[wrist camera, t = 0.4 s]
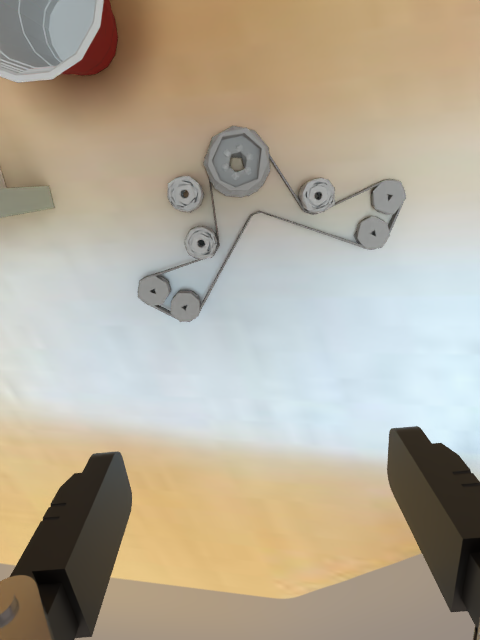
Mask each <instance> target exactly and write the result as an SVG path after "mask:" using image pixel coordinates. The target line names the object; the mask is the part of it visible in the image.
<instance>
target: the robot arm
mask: <svg viewBox="0 0 480 640" xmlns="http://www.w3.org/2000/svg"><path fill="white" fill-rule="evenodd" d="M387 473H388V480H389V484H390V487H391V490H392V492H393V495H394V497H395V499H396V501H397V503H398V505H399V507H400V509H401V511H402V513H403V515H404V517H405V519H406V521H407V523H408V525H409V527H410V529H411V531H412V533H413V536H414V538H415V540H416V542H417V544H418V546H419V548H420V550H421V552H422V554H423V556H424V558H425V560H426V562H427V564H428V566H429V568H430V570H431V572H432V574H433V576H434V579H435V581H436V583H437V584H438V587H439V589H440V591H441V593H442V595H443V597H444V599H445V601H446V603H447V605H448V607H449V609H450V611H451V612H460V611H468V612H469V614H470V616H471V618H472V620H473V622H474V624H475V629H474V634H473V640H480V482H479V480H478V479H477V478H476V477H475V475H474V474H473V473H471V471H470V469H469V468H468V466H467V465H466V464H465V463H464V461H463V460H462V459H461V458H460V456H459V455H458V454H456V453H455V452H453V451H452V450H450V449H449V448H448V447H446V446H445V445H443V444H442V443H435V444H432V443H431V442H430V441H429V439H428V438H427V436H426V435H425V434H424V432H423V431H422V430H421V428H420V427H418V426H415V427H403V428H392V429H391V430H390V433H389V447H388V465H387ZM131 506H132V492H131V487H130V484H129V480H128V476H127V473H126V469H125V465H124V461H123V458H122V455H121V453H120V452H107V453H96V454H93V455H92V456H91V457H90V459H89V461H88V463H87V464H86V466H85V468H84V470H83V472H82V473H75V474H73V475H72V476H71V477H70V478H69V479H68V480H67V481H66V482H65V483H64V484H63V485H62V486H61V487H60V488H59V490H58V492H57V494H56V495H55V497H54V499H53V501H52V503H51V507H49V508H48V510H47V512H46V513H45V515H44V517H43V521H41V522H40V524H39V526H38V528H37V529H36V531H35V533H34V535H33V536H32V538H31V540H30V542H29V544H28V545H27V547H26V549H25V551H24V553H23V554H22V556H21V558H20V560H19V561H18V563H17V565H16V567H15V569H14V570H13V572H12V574H11V576H10V577H9V578H7V579H4V580H2V581H0V640H74V639H75V638H81V637H92V634H93V631H94V627H95V624H96V621H97V618H98V615H99V612H100V608H101V605H102V602H103V599H104V595H105V592H106V589H107V586H108V583H109V580H110V576H111V573H112V570H113V567H114V564H115V560H116V557H117V554H118V551H119V548H120V544H121V541H122V538H123V535H124V532H125V528H126V525H127V522H128V519H129V515H130V512H131Z"/></svg>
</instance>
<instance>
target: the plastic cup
mask: <svg viewBox="0 0 480 640" xmlns="http://www.w3.org/2000/svg"><path fill="white" fill-rule="evenodd" d="M117 40H118V35H117V29H116V23H115V18H114V16H113V13H112V10H111V4H110V1H109V0H0V77H3V78H6V79H9V80H11V81H14V82H17V83H18V82H29V81H39V80H50V79H53V78H55V77H56V76H58V75H59V74H68V75H69V74H76V75H81V76H82V75H92V74H96V73H99V72H100V71H102V70H103V69H105V68H106V67H108V65H109V64H110V62H111V61H112V59H113V57H114V56H115V52H116V46H117Z"/></svg>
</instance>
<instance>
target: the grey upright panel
mask: <svg viewBox="0 0 480 640" xmlns="http://www.w3.org/2000/svg"><path fill="white" fill-rule="evenodd" d="M52 208H55V207H54V204H53V200H52V196H51V192H50V188H49V186H37V187H18V188H6V185H5V182H4V178H3V175H2V171H1V168H0V218H1V217H7V216H12V215H18V214H24V213H29V212H35V211H41V210H46V209H52Z"/></svg>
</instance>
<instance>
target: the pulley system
mask: <svg viewBox="0 0 480 640" xmlns="http://www.w3.org/2000/svg"><path fill="white" fill-rule="evenodd" d="M230 157H233V158H242V160H243V165H244V168H245V169H243V170H241V171H237V172H235V171H234V170H232V169H231V167H230ZM269 158H270V160H271V161H272V163H273V164H274V166H275V168H276V169H277V171H278V172H279V174H280V176H281V177H282V179H283V180H284V182H285V183H286V185H287V187H288V188H289V190H290V191H291V193H292V194H293V196H294V198H295V199H296V201H297V202H298V204H299V206H300V207H301V209H302V210H303V211H304V212H307V213H310V214H317V213H321V212H324V211H325V210H327V209H328V208H330V207H332V206H334V205H337V204H339V203H341V202H343V201H345V200H347V199H349V198H352V197H354V196H356V195H358V194H360V193H362V192H365V191H367V190H369V189H371V188H373V187H375V186H376V188H375V190H374V191H373V192H372V194H371V197H372V199H371V204H372V206H374V207H375V209H376V210H377V212H382V213H385V214H394V215H393V217H392V219H391V221H390V223H389V225H388V224H387V223H386V222H385V221H383V220H381V219H380V218H378V217H375V216H372V217H370V218H365V219H364V220H362V221H361V222H360V223H359V224H358V225H357V231H356V232H355V234H354V237H355V240H356V242H357V243H358V244H357V243H354V242H351V241H348V240H345V239H342V238H339V237H336V236H333V235H330V234H327V233H324V232H321V231H318V230H315V229H312V228H309V227H306V226H303V225H300V224H297V223H294V222H291V221H288V220H285V219H282V218H279V217H276V216H273V215H270V214H267V213H264V212H261V211H258V212H256V213H254V214H257V213H264V214H267V215H270V216H273V217H276V218H279V219H282V220H284V221H287V222H290V223H293V224H296V225H299V226H302V227H305V228H308V229H310V230H313V231H316V232H319V233H322V234H325V235H328V236H331V237H334V238H336V239H339V240H342V241H345V242H348V243H351V244H354V245H357V246H359V247H362V248H365V249H369V250H373V249H377V248H381V247H383V245H384V244H385V242H386V241H387V239H388V237H389V236H390V232H391V230H392V228H393V225H394V223H395V221H396V218H397V216H398V214H399V212H400V209H401V207H402V205H403V202H404V200H405V199H406V195H405V190H404V187H403V185H402V183H401V181H397V180H393V179H387V180H383V181H380V182H378V183H376V184H374V185H372V186H370V187H368V188H366V189H364V190H362V191H360V192H358V193H355V194H353V195H351V196H349V197H347V198H345V199H343V200H340V201H338V202H336V203H335V188H334V187H333V185H332V184H331V182H330V181H329V180H328V179H324V178H317V179H313V180H310V181H308V182H306V183H305V184H304V185H303V186H301V189H300V191H299V195H298V198H297V197H296V195H295V193H294V192H293V190H292V189H291V187H290V186H289V184H288V182H287V181H286V179H285V178H284V176H283V175H282V173H281V172H280V170H279V168H278V167H277V165H276V164H275V162H274V161H273V159H272V157H271V156H270V154H269V148H268V146H267V145H266V144H265V143H264V141H263V140H262V139H261V138H260V137H259V135H258V134H257V133H256V132H255V131H254V130H250V129H247V128H242V127H237V126H231V127H230V128H228V129H226V130H224V131H223V132H221V133H219V134H217V135H215V136H214V137H212V140H211V143H210V146H209V149H208V152H207V154H206V156H205V161H204V166H205V168H206V171H207V173H208V175H209V182H210V189H211V197H212V204H213V211H214V218H215V225H216V232H217V237H216V233H215V232H214V231H213V230H212V228H210V227H207V226H197V227H195V228H193V229H191V230H190V231H189V233H188V234H187V236H186V239H185V246H186V249H187V252H188V254H189V255H190V256H192V257H194V258H197V259H198V260H195V261H192V262H189V263H186V264H183V265H180V266H177V267H174V268H171V269H168V270H165V271H162V272H159V273H156V274H153V275H150V276H147V277H145V278H143V279H141V280H140V281H139V287H138V298H140V299H141V300H142V301H143V302H144V303H146V304H147V305H149V306H151V307H154V308H156V309H158V310H160V311H162V312H164V313H166V314H168V315H170V316H172V317H174V318H176V319H178V320H179V321H180V322H190V321H192V320H193V319H195V318H196V317H197V316H198V315H199V313H200V311H201V309H202V307H203V305H204V303H205V301H206V300H207V298H208V296H209V294H210V292H211V290H212V288H213V286H214V284H215V283H216V281H217V279H218V277H219V275H220V273H221V271H222V269H223V268H224V266H225V264H226V262H227V260H228V258H229V257H230V255H231V253H232V251H233V249H234V247H235V245H236V244H237V242H238V240H239V238H240V236H241V234H242V233H243V231H244V229H245V227H246V225H247V223H248V222H249V220H250V218H251V216H252V215H254V214H251V215H250V216H249V218H248V220H247V222H246V223H245V225H244V227H243V229H242V231H241V233H240V234H239V236H238V238H237V240H236V242H235V244H234V245H233V247H232V249H231V251H230V253H229V255H228V256H227V258H226V260H225V262H224V264H223V266H222V267H221V269H220V271H219V273H218V275H217V277H216V278H215V280H214V282H213V284H212V286H211V288H210V290H209V291H208V293H207V295H206V297H205V299H204V301H203V302H202V304H201V305H200V299H199V296H198V295H196V294H195V293H194V292H193V291H179V292H178V293H177V294H176V295H175V296H174V297H173V300H172V301H171V311H170V310H168V309H165V308H163V307H161V306H159V305H162V304H163V303H164V301H165V300H166V298H167V296H168V295H169V294H170V292H171V290H170V286H169V282H168V280H166V279H165V278H163V277H161V276H159V275H160V274H163V273H166V272H169V271H172V270H175V269H177V268H180V267H183V266H186V265H189V264H192V263H194V262H197V261H200V260H203V259H206V258H212V256H214V254H215V253H216V251H217V249H218V247H219V246H220V244H219V237H218V230H217V223H216V216H215V208H214V201H213V194H212V188H211V183H212V184H213V186H214V188H215V189H217V190H218V191H220V192H221V193H223V194H224V195H226V196H233V197H244V196H250V195H251V194H252V193H254V192H256V191H258V189H259V188H260V187H262V186H263V184H264V182H265V180H266V178H267V176H268V174H269V172H270V163H269ZM185 191H188V193H189V196H188V197H187V198H185V197H184V195H183V194H184V192H185ZM315 193H317V195H318V197H317V198H316V199H315ZM387 195H389V196H387ZM203 197H204V193H203V190H202V186H201V185H200V184H199V183H198V182H197V181H196V180H194V179H193V178H191V177H190V176H181V177H177V178H175V179H174V180H173V181H171V182H170V183H168V200H169V202H170V203H171V205H172V206H173V207H174V208H175V209H177V210H179V211H184V212H189V213H191V212H192V211H194V210H195V209H197V208H198V207H199V206H200V205H201V203H202V200H203ZM298 199H299V200H298ZM305 210H307V211H305ZM308 211H309V212H308ZM371 232H373V234H370V233H371ZM199 240H203V241H204V242H205V245H200V242H199ZM217 240H218V247H217V248H216V246H217ZM215 249H216V250H215ZM154 288H155V290H154ZM186 305H187V307H186Z"/></svg>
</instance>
